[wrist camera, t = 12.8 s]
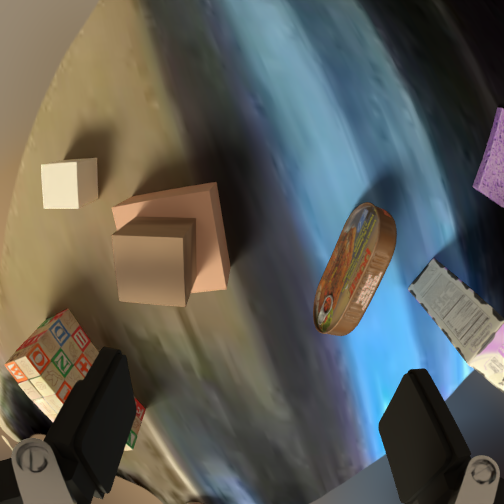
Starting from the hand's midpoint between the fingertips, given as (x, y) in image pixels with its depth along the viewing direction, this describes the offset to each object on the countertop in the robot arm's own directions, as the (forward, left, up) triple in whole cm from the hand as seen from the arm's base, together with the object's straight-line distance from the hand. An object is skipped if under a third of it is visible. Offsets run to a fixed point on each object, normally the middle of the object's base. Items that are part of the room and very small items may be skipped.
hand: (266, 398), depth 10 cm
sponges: (-11, +33, -28) cm, 44 cm away
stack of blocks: (+26, -24, -28) cm, 45 cm away
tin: (+5, +10, -28) cm, 30 cm away
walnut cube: (+3, -9, -22) cm, 23 cm away
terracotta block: (+3, -9, -28) cm, 29 cm away
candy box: (+10, +27, -28) cm, 40 cm away
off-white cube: (-3, -22, -27) cm, 35 cm away
